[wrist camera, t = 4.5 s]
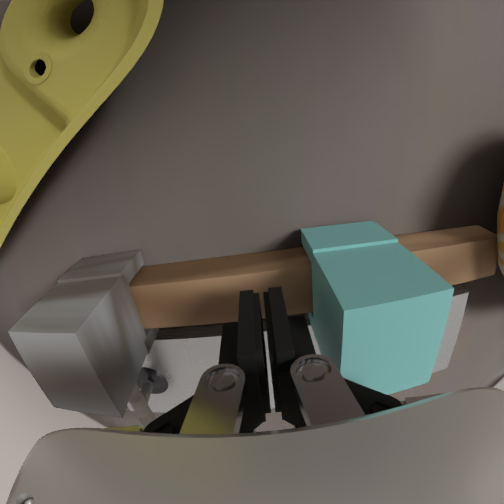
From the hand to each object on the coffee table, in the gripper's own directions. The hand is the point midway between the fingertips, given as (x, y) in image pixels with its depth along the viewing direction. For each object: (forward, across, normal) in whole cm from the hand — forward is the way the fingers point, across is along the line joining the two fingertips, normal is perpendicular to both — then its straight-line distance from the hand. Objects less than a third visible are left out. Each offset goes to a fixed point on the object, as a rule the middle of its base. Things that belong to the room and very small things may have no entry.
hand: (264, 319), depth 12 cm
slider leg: (+4, -4, +3) cm, 7 cm away
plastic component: (+5, +12, -12) cm, 18 cm away
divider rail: (+4, -2, +3) cm, 6 cm away
